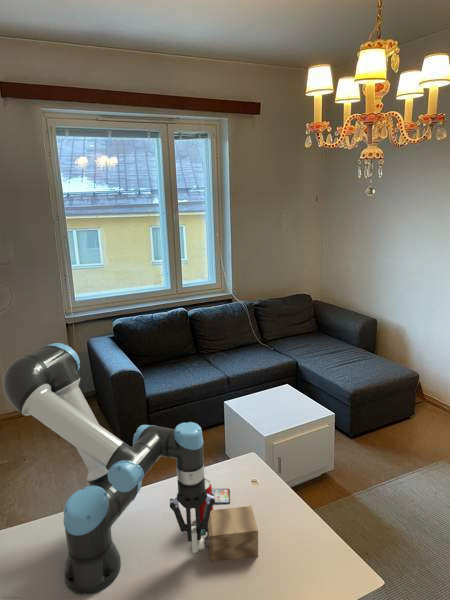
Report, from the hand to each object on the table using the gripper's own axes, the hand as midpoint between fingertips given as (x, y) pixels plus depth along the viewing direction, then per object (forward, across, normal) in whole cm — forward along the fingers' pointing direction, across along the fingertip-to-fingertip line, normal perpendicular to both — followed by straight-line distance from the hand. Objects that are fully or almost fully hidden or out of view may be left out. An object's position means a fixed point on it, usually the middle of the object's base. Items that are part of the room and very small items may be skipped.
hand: (194, 548), depth 123 cm
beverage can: (+3, +4, +13) cm, 14 cm away
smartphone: (+4, +6, +25) cm, 26 cm away
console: (+3, +11, +3) cm, 12 cm away
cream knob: (0, +5, 0) cm, 5 cm away
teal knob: (0, +5, +5) cm, 8 cm away
